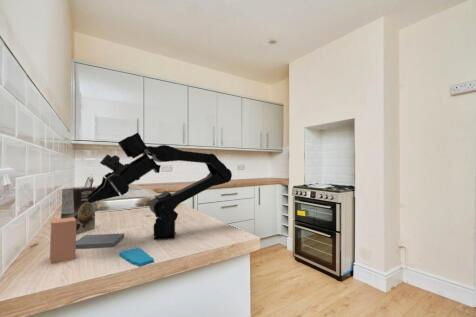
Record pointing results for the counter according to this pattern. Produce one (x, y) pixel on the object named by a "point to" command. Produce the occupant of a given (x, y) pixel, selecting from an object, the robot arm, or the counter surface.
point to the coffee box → (79, 208)
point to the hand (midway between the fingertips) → (88, 199)
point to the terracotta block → (63, 240)
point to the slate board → (98, 241)
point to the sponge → (136, 257)
